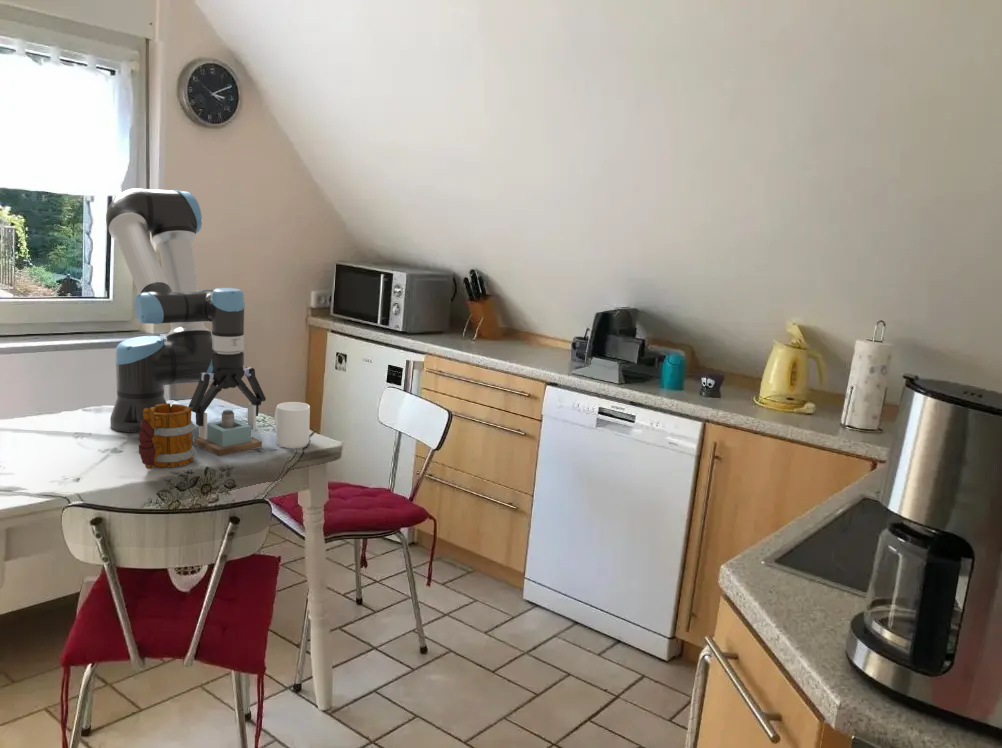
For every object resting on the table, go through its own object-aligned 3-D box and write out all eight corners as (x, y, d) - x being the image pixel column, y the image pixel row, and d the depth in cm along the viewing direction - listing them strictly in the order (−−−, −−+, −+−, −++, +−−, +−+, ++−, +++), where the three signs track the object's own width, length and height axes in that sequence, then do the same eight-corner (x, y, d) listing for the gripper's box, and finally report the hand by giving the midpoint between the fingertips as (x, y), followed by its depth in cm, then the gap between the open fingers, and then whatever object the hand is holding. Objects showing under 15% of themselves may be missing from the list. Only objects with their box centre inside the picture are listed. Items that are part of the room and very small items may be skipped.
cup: (288, 450, 216) (289, 412, 214) (261, 439, 224) (262, 401, 222) (315, 444, 222) (316, 407, 220) (288, 433, 230) (288, 397, 228)
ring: (205, 438, 216) (205, 423, 215) (234, 433, 222) (234, 418, 221) (222, 446, 211) (222, 431, 210) (251, 441, 217) (251, 426, 216)
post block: (193, 443, 216) (193, 409, 214) (236, 435, 225) (236, 402, 223) (218, 456, 208) (218, 420, 206) (261, 447, 217) (262, 413, 215)
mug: (204, 457, 207) (203, 397, 204) (162, 478, 191) (161, 414, 188) (164, 450, 209) (163, 391, 206) (120, 471, 194) (119, 407, 190)
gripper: (188, 359, 200) (189, 445, 204) (280, 349, 218) (278, 428, 223) (172, 353, 205) (173, 437, 209) (263, 343, 223) (262, 421, 228)
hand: (227, 433), depth 216 cm, fingers open, 13 cm apart
